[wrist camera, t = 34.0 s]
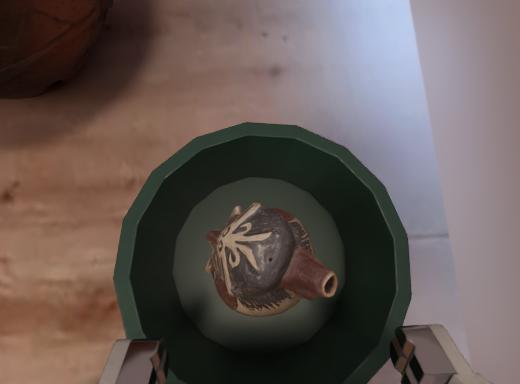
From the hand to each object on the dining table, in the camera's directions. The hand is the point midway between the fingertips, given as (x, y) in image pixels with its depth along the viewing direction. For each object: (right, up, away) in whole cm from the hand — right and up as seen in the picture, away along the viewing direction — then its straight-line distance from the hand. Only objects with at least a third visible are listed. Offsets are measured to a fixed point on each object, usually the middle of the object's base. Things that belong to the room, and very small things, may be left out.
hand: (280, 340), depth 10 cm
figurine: (-1, 0, +12) cm, 12 cm away
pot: (-1, 0, +12) cm, 13 cm away
